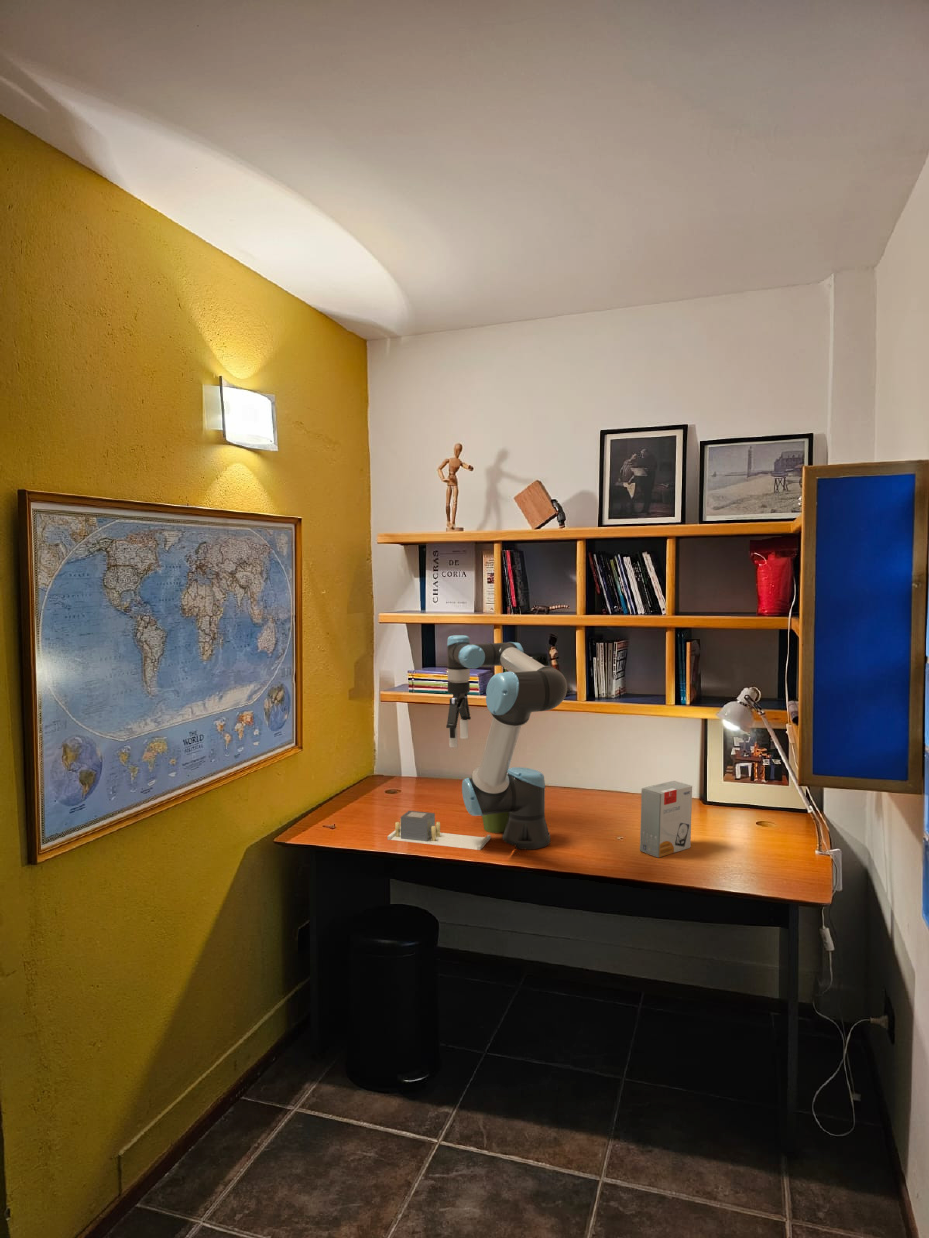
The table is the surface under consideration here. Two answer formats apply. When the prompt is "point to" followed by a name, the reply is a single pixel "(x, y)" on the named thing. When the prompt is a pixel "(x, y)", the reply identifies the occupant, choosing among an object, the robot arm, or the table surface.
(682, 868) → the table surface
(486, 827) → the plant pot
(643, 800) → the hard drive box
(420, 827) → the block
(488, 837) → the tray
